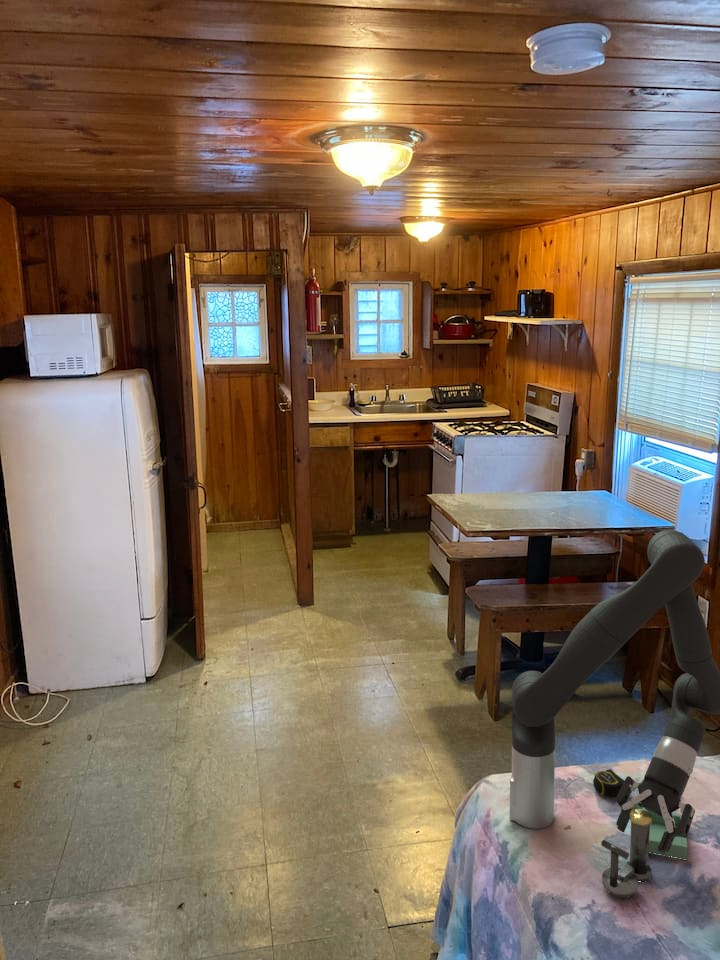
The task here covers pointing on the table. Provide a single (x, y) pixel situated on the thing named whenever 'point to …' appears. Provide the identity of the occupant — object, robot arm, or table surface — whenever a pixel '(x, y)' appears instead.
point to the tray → (656, 835)
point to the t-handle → (618, 874)
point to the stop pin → (640, 844)
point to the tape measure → (607, 783)
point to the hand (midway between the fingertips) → (640, 841)
